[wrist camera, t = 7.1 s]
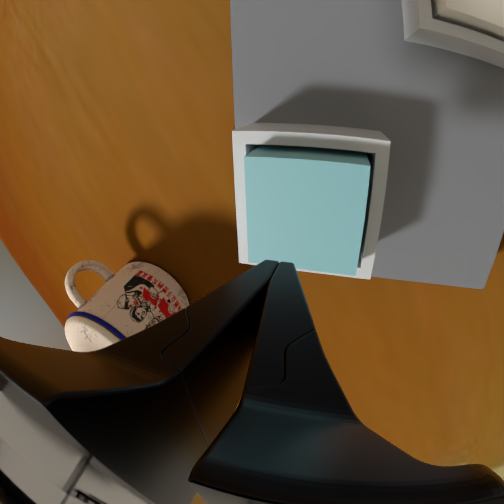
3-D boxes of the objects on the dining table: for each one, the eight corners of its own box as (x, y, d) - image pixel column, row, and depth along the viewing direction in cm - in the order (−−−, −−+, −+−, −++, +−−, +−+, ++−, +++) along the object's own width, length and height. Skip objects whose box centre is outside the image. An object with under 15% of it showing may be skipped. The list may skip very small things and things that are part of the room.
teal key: (365, 151, 13) (370, 166, 11) (355, 244, 16) (355, 275, 13) (262, 143, 14) (244, 156, 12) (264, 234, 17) (248, 262, 14)
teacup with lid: (212, 317, 28) (154, 417, 19) (158, 337, 33) (104, 415, 23) (130, 216, 25) (34, 292, 16) (89, 256, 30) (15, 322, 20)
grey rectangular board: (490, -33, 7) (530, -61, 1) (470, 265, 18) (498, 323, 13) (243, -63, 11) (204, -105, 6) (254, 239, 23) (222, 291, 17)
